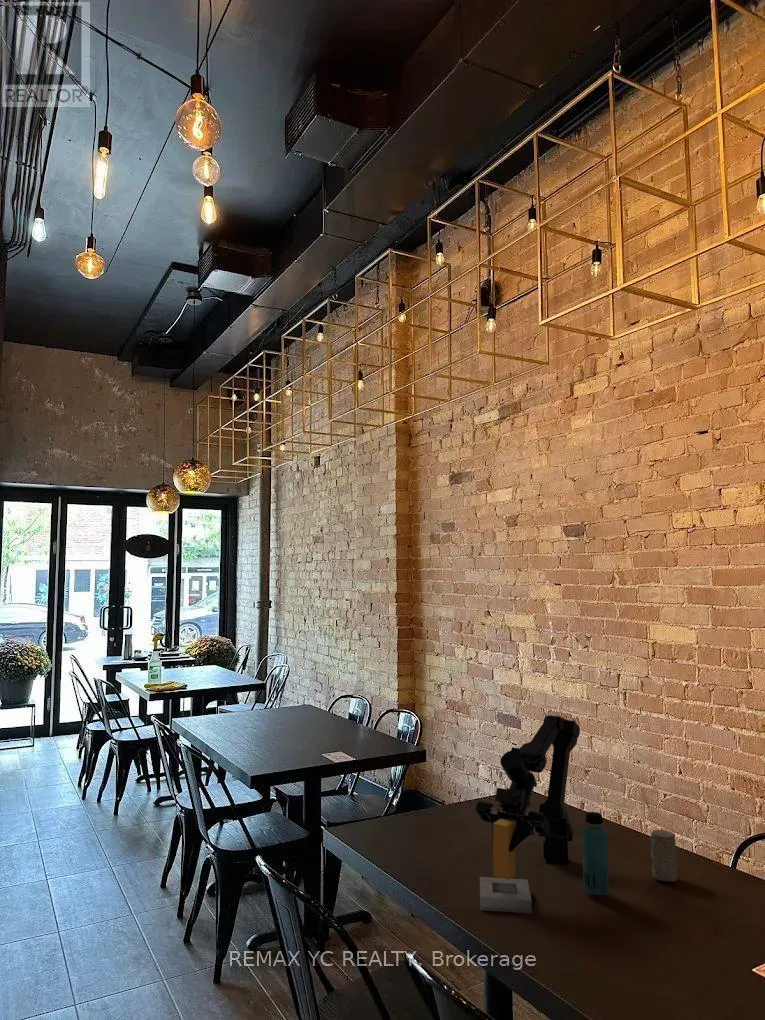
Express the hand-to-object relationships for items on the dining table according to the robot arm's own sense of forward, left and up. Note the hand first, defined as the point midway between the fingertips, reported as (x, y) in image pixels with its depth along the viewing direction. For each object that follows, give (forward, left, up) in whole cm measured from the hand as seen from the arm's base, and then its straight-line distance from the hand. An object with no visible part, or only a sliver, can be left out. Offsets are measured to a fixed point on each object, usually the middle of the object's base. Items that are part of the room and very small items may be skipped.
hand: (501, 848), depth 172 cm
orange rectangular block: (-1, -1, -7) cm, 7 cm away
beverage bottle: (-24, -7, -13) cm, 28 cm away
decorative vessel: (-44, -20, -13) cm, 50 cm away
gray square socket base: (-1, -1, -13) cm, 13 cm away
